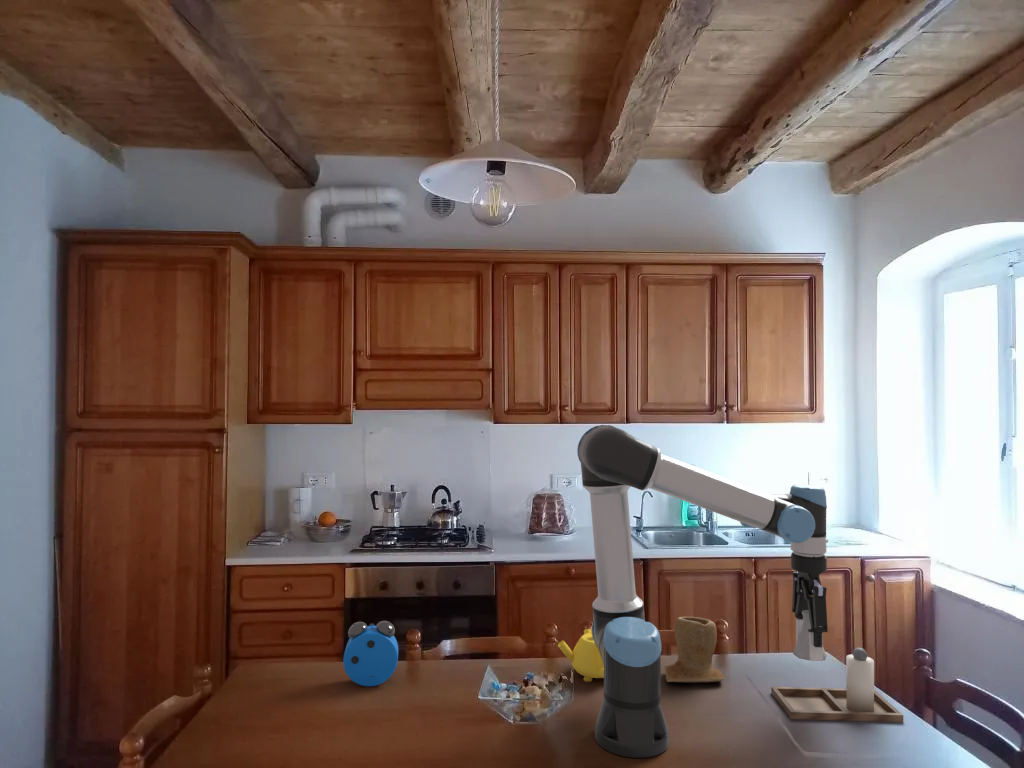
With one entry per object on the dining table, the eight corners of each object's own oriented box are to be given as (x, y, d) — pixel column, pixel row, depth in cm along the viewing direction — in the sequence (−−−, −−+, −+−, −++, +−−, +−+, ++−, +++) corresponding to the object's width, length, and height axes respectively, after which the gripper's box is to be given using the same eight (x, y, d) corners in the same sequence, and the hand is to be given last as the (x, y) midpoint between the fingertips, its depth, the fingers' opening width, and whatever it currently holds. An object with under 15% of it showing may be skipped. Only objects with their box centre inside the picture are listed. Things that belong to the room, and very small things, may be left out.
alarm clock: (398, 676, 172) (398, 616, 172) (397, 686, 166) (398, 624, 166) (345, 679, 170) (345, 618, 170) (342, 689, 164) (343, 627, 164)
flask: (822, 651, 158) (822, 608, 158) (830, 663, 151) (830, 618, 151) (789, 649, 159) (789, 606, 160) (796, 661, 152) (795, 616, 152)
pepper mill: (853, 713, 152) (853, 652, 152) (842, 701, 157) (842, 643, 158) (878, 713, 151) (878, 652, 152) (866, 702, 157) (866, 643, 157)
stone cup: (712, 668, 178) (712, 611, 179) (728, 687, 166) (728, 626, 167) (655, 669, 177) (655, 611, 178) (667, 688, 166) (668, 627, 166)
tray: (791, 722, 149) (791, 712, 149) (771, 696, 162) (771, 686, 162) (903, 725, 148) (903, 715, 148) (874, 699, 161) (874, 689, 161)
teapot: (586, 659, 184) (586, 618, 184) (631, 672, 175) (631, 629, 175) (555, 676, 172) (556, 632, 173) (602, 691, 164) (602, 645, 164)
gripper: (844, 564, 145) (845, 671, 145) (808, 543, 165) (808, 638, 165) (809, 563, 146) (809, 671, 145) (777, 543, 166) (777, 637, 165)
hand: (809, 653), depth 155 cm, fingers closed on flask, 7 cm apart
